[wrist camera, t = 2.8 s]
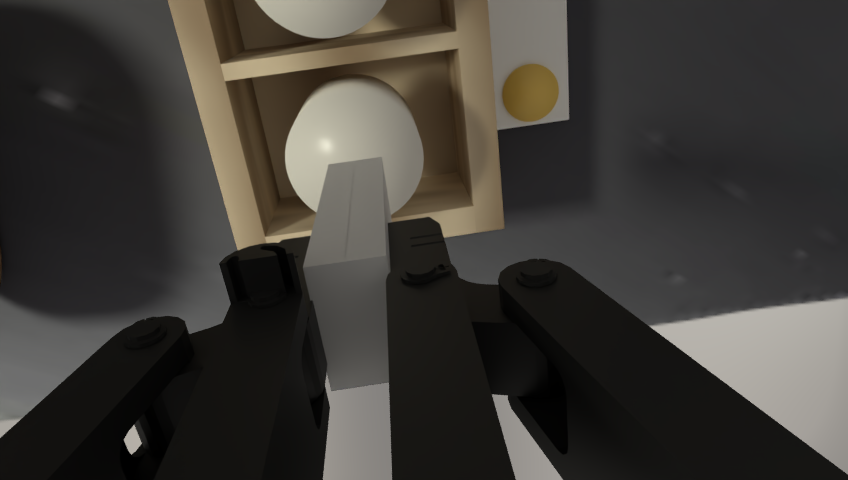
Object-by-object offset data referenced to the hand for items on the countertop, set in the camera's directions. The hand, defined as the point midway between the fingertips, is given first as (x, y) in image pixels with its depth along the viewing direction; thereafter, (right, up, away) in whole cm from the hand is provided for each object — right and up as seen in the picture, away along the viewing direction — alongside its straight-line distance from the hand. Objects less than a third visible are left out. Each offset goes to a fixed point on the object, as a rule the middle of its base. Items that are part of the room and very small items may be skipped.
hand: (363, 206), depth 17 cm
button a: (-1, +3, +7) cm, 8 cm away
